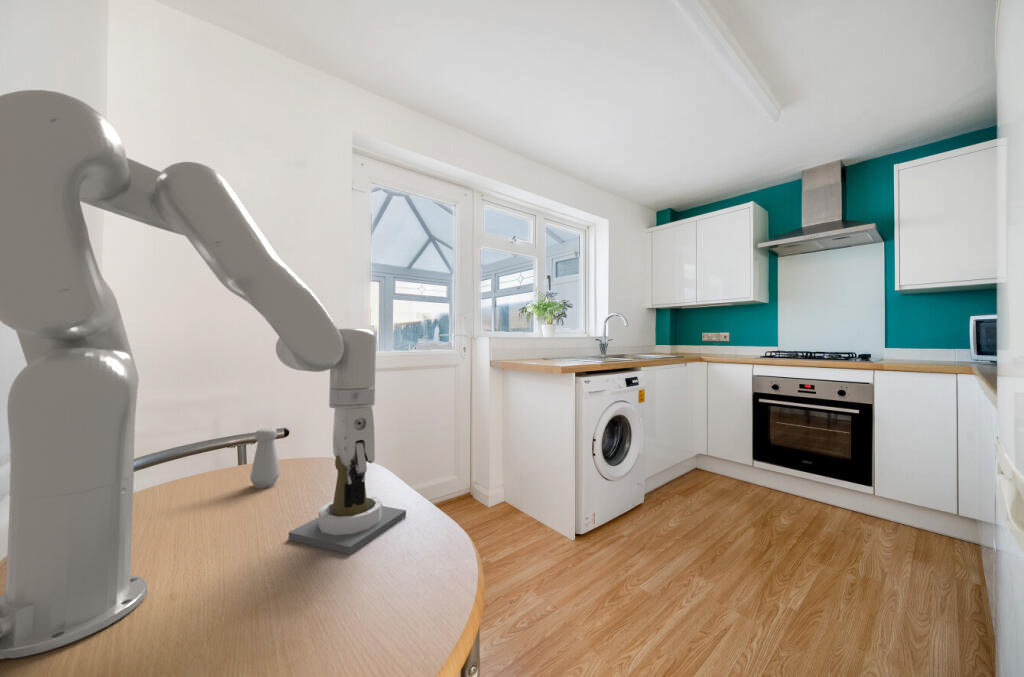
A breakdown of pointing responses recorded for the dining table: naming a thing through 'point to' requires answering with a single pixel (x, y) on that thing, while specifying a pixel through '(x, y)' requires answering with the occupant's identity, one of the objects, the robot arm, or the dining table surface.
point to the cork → (338, 502)
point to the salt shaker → (265, 459)
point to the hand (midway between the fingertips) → (350, 500)
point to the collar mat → (348, 539)
